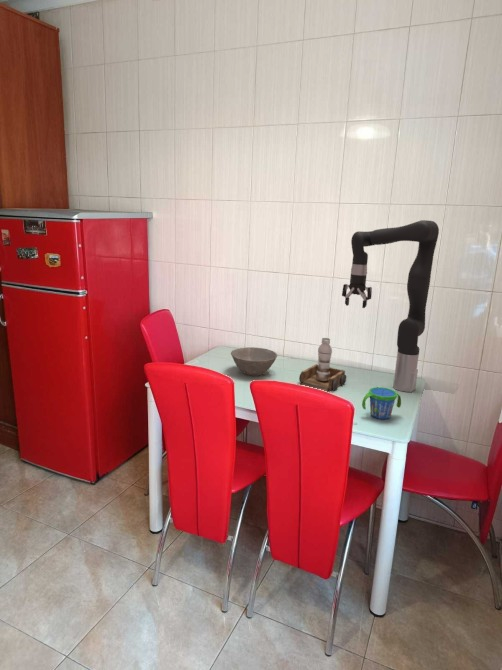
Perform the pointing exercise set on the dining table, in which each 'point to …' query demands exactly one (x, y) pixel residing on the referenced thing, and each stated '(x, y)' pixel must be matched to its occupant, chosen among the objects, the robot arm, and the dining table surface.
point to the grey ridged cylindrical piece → (324, 360)
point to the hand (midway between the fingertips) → (355, 306)
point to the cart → (333, 383)
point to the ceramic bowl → (253, 360)
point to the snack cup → (381, 402)
